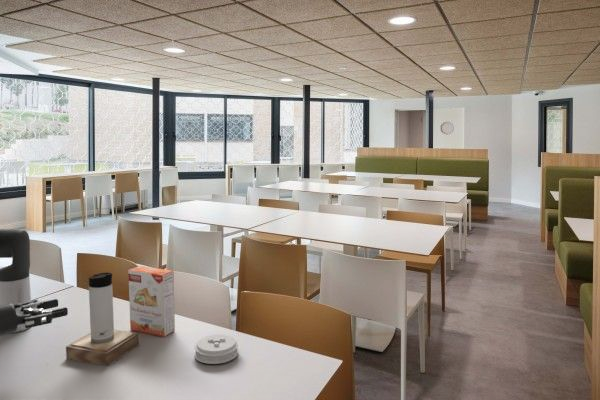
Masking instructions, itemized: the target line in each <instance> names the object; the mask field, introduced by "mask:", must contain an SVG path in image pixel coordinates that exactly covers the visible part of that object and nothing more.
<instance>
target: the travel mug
mask: <svg viewBox="0 0 600 400" xmlns="http://www.w3.org/2000/svg"><path fill="white" fill-rule="evenodd" d="M113 294H114V293H113V273H112V272H101V273H95V274H93V275H92V276H89V277H88V298H89V303H88V304H89V321H90V322H89V323H90V324H89V325H90V333H91V341H92V342H94V343H105V342H108V341H110V340H112V339H113V338H114V330H115V327H114V324H115V323H114V299H113V298H114V297H113V296H114V295H113Z"/></svg>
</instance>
